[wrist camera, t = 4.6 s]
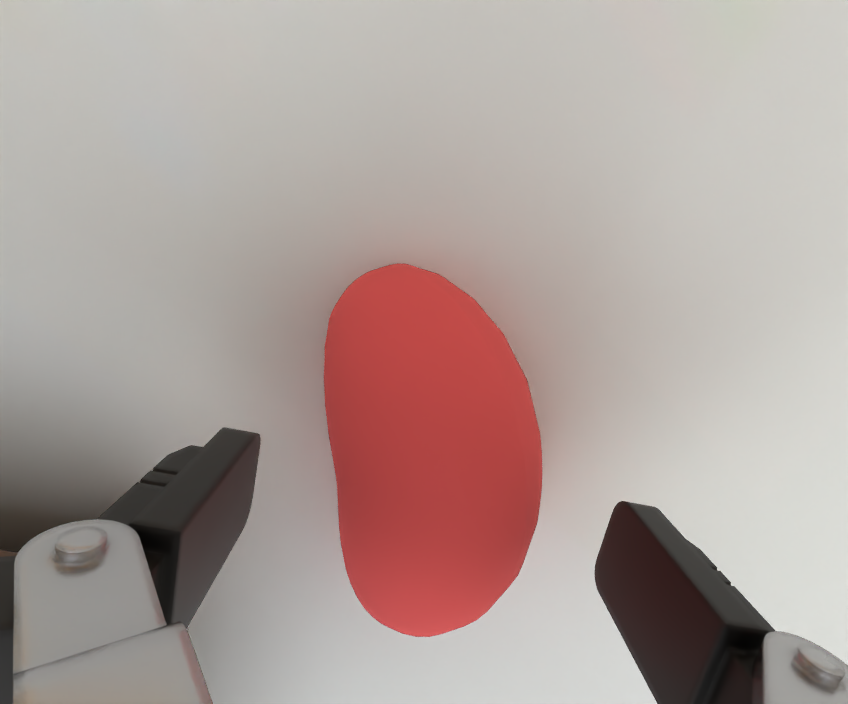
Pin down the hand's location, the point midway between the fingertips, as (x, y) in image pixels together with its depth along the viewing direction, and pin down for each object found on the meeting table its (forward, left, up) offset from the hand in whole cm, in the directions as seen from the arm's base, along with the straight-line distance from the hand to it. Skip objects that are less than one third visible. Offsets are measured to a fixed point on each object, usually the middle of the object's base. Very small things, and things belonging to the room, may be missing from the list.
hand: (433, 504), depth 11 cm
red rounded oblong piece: (0, 0, -4) cm, 4 cm away
